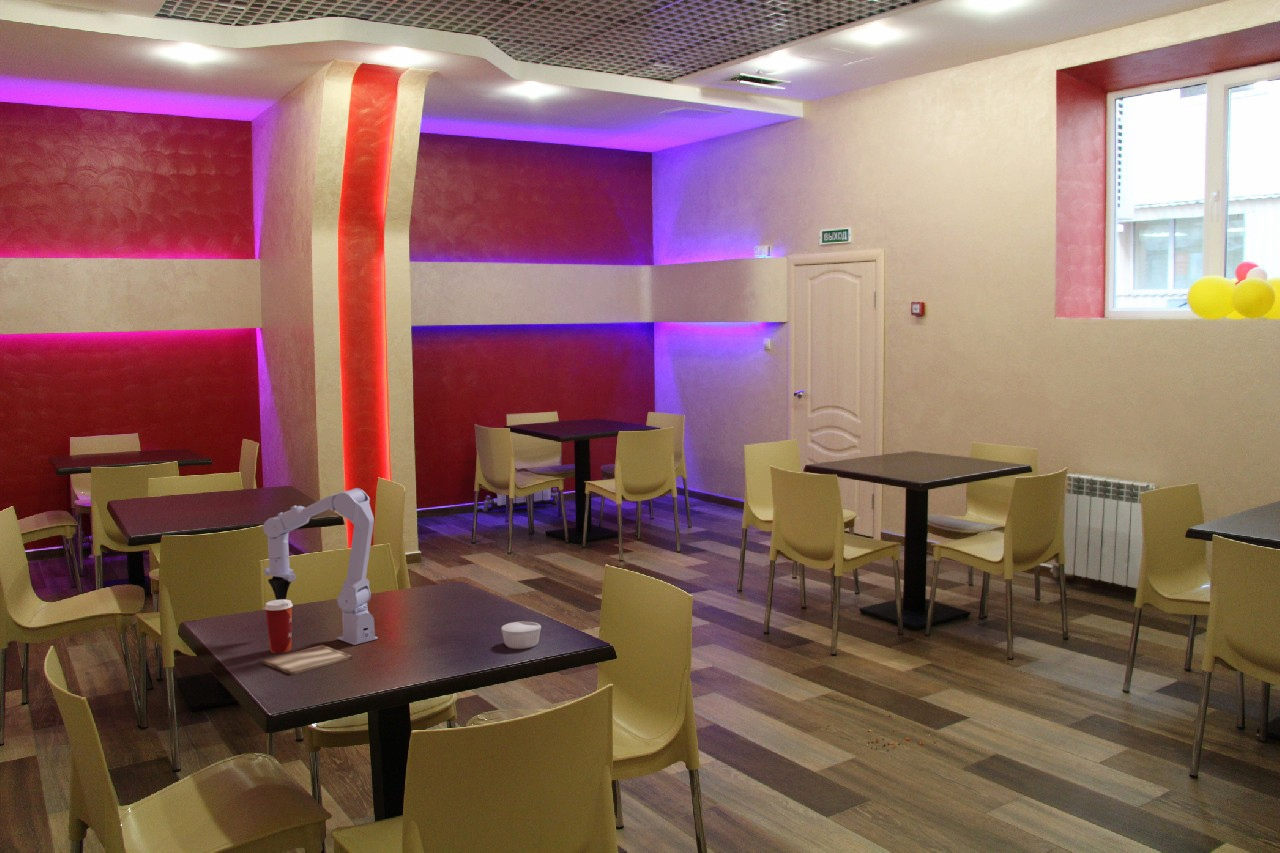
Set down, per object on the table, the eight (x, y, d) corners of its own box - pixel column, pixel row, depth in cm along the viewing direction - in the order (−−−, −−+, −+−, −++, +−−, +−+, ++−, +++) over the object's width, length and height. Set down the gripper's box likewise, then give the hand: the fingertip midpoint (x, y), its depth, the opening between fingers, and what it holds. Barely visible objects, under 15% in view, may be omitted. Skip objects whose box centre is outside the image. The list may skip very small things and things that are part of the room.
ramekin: (547, 640, 303) (546, 622, 303) (533, 651, 292) (532, 633, 292) (511, 637, 306) (510, 620, 306) (495, 649, 295) (495, 630, 295)
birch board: (352, 658, 289) (351, 655, 289) (291, 675, 276) (291, 671, 276) (322, 647, 300) (322, 644, 300) (262, 662, 287) (262, 659, 287)
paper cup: (300, 649, 299) (297, 601, 297) (275, 656, 293) (272, 607, 292) (286, 644, 304) (283, 597, 303) (261, 651, 298) (258, 602, 297)
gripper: (304, 557, 309) (306, 602, 310) (278, 551, 319) (281, 595, 320) (282, 561, 304) (284, 607, 305) (256, 555, 313) (259, 600, 315)
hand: (281, 601), depth 312 cm, fingers closed
